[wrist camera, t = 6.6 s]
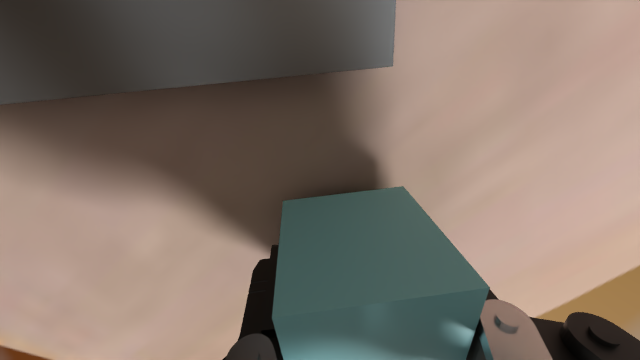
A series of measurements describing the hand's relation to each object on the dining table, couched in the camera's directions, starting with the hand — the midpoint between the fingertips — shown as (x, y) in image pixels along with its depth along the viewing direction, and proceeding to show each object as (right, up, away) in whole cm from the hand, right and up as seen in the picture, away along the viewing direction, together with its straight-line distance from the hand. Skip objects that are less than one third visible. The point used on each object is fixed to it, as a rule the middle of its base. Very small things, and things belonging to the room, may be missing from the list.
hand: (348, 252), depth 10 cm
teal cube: (0, 0, +1) cm, 1 cm away
